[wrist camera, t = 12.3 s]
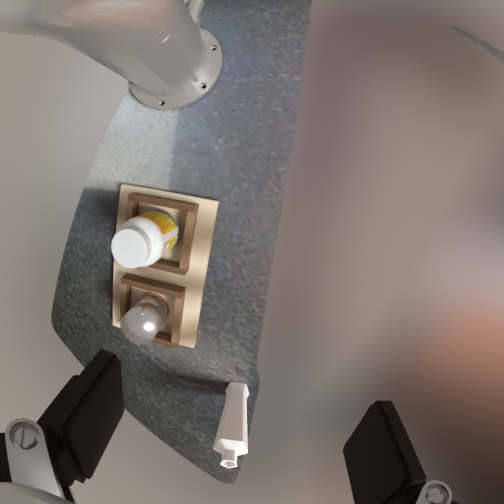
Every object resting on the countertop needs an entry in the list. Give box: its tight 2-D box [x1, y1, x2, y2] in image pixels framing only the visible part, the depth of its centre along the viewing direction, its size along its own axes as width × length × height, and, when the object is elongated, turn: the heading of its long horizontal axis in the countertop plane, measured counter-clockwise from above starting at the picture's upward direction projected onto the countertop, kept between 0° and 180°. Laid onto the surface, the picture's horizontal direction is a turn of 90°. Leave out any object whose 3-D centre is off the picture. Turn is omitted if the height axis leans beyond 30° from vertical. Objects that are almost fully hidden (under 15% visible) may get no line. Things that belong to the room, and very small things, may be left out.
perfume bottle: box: [213, 382, 249, 468], centre depth 36 cm, size 5×4×15 cm
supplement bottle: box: [111, 210, 179, 268], centre depth 31 cm, size 5×5×10 cm
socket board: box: [113, 184, 219, 348], centre depth 37 cm, size 21×13×3 cm, turn 168°
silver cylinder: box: [121, 292, 169, 345], centre depth 36 cm, size 5×5×6 cm
